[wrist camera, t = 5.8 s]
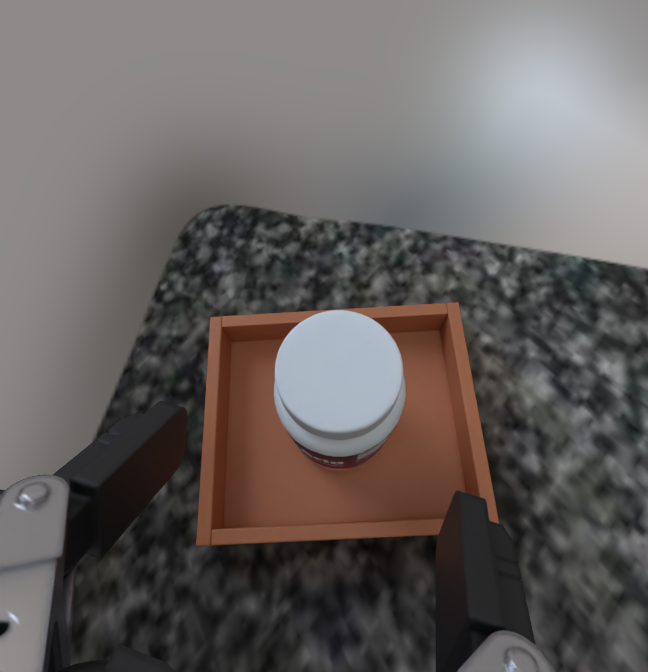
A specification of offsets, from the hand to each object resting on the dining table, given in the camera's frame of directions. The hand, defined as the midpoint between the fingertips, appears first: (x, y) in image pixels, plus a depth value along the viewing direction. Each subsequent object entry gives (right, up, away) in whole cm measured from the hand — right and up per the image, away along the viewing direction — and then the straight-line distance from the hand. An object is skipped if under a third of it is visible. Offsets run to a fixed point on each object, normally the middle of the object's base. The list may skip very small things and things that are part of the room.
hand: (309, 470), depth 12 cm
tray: (+1, 0, +9) cm, 9 cm away
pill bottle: (+1, 0, +9) cm, 9 cm away
